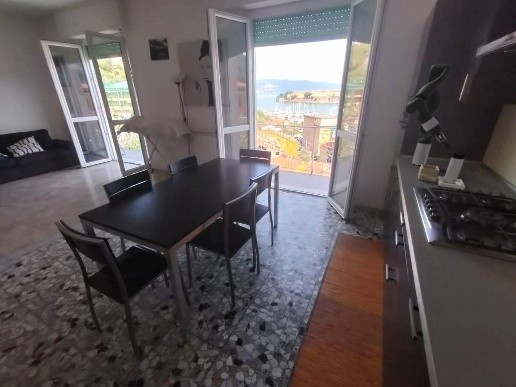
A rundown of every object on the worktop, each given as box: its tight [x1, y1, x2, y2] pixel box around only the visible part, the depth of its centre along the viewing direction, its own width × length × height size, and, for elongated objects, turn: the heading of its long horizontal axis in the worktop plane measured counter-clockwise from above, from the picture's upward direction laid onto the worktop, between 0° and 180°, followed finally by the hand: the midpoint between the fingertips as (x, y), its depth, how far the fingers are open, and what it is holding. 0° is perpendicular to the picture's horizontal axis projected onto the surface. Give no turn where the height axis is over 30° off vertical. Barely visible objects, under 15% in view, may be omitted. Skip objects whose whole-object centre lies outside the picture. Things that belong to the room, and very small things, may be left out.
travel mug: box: [443, 152, 468, 184], centre depth 145 cm, size 6×7×20 cm
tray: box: [436, 175, 466, 191], centre depth 149 cm, size 14×13×2 cm
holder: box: [417, 164, 440, 183], centre depth 159 cm, size 11×10×8 cm
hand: (448, 146), depth 143 cm, fingers open, 8 cm apart
